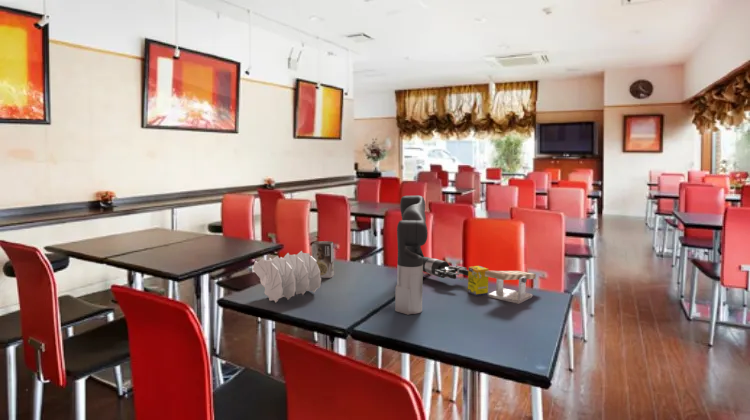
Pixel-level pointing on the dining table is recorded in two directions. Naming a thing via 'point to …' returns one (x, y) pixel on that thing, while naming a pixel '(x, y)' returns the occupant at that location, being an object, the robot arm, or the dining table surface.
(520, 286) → the beam stand
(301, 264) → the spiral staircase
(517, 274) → the beam
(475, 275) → the supplement box
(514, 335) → the dining table surface
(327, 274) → the coffee box
